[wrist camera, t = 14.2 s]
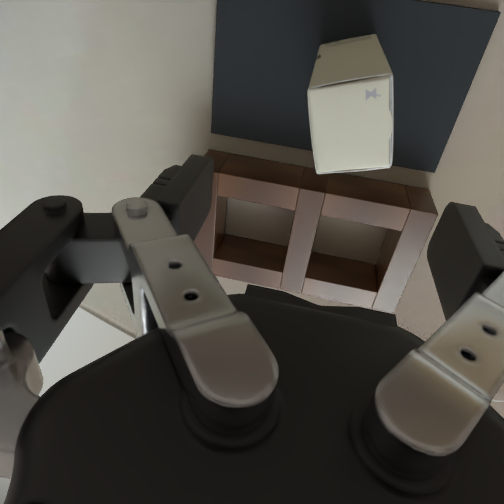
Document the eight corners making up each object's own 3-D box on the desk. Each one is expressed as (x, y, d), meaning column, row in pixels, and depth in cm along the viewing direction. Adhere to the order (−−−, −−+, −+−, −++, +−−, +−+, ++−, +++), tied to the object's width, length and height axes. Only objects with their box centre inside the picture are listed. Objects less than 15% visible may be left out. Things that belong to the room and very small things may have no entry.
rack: (204, 246, 44) (191, 270, 41) (208, 149, 38) (193, 168, 34) (389, 284, 42) (393, 313, 39) (429, 189, 36) (438, 214, 32)
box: (318, 43, 30) (303, 81, 20) (378, 32, 29) (395, 66, 19) (324, 113, 33) (313, 177, 23) (379, 105, 32) (394, 170, 22)
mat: (212, 131, 37) (210, 132, 36) (220, -28, 29) (218, -28, 29) (433, 170, 35) (434, 172, 34) (498, 11, 28) (501, 12, 27)
